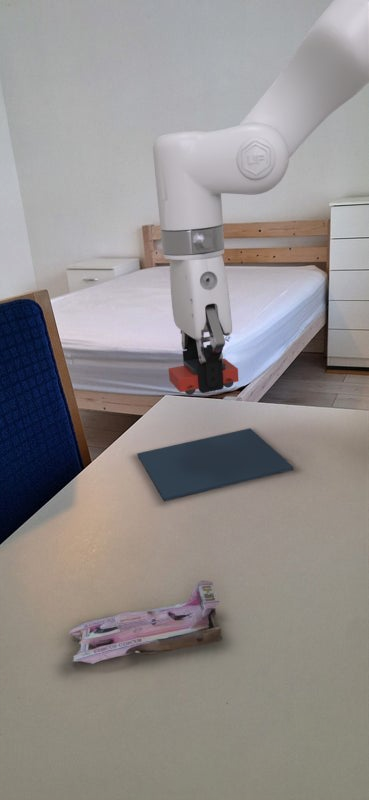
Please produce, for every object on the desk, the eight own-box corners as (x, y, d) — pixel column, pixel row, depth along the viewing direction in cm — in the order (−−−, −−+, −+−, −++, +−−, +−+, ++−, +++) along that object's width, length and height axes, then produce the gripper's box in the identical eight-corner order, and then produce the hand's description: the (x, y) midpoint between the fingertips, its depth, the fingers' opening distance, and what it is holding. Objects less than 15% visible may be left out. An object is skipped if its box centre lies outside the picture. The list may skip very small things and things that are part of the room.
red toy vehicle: (239, 385, 78) (225, 374, 82) (237, 362, 77) (224, 352, 81) (180, 396, 76) (169, 385, 80) (178, 373, 75) (167, 362, 79)
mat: (250, 431, 92) (250, 428, 92) (293, 469, 80) (292, 466, 79) (137, 456, 88) (137, 453, 87) (163, 501, 75) (163, 497, 75)
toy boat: (70, 677, 50) (62, 640, 48) (73, 630, 55) (66, 594, 53) (225, 651, 51) (222, 613, 50) (214, 607, 56) (210, 571, 55)
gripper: (249, 245, 66) (256, 399, 72) (198, 234, 81) (208, 362, 88) (185, 254, 64) (198, 411, 70) (145, 240, 79) (159, 370, 86)
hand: (203, 382), depth 79 cm, fingers closed on red toy vehicle, 5 cm apart
